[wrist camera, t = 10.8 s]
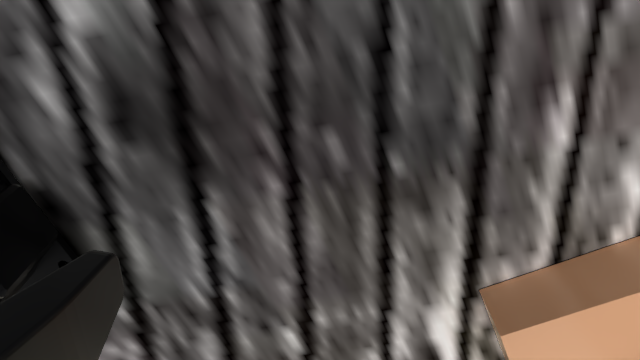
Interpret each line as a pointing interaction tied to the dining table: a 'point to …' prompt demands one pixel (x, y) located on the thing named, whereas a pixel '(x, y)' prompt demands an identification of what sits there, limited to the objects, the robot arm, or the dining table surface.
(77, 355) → the robot arm
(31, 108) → the dining table surface
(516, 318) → the terracotta plinth
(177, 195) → the dining table surface
